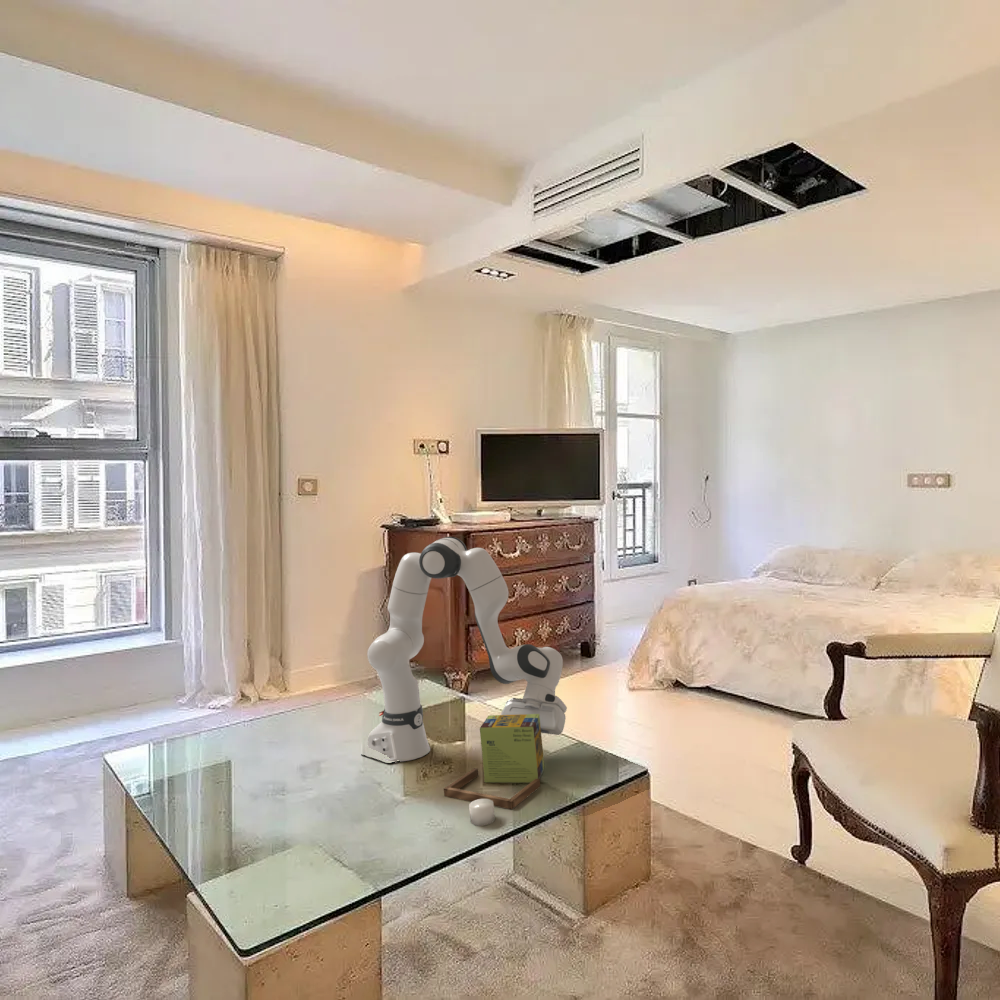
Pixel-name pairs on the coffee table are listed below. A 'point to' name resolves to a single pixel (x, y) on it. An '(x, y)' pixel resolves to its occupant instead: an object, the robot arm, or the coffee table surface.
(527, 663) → the robot arm
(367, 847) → the coffee table surface
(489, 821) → the white rounded block
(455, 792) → the open wooden frame
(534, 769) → the protein box
